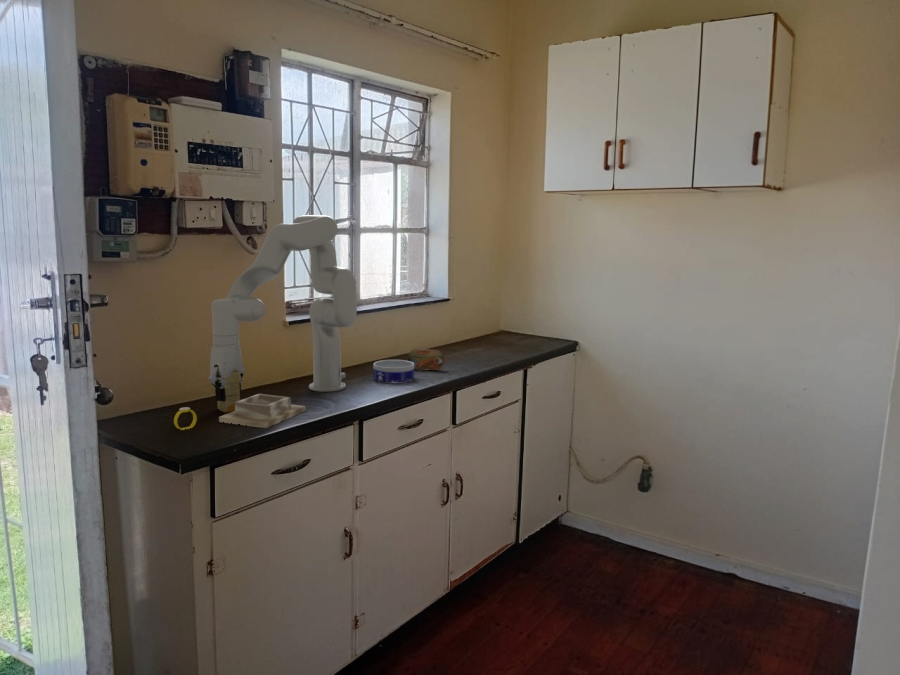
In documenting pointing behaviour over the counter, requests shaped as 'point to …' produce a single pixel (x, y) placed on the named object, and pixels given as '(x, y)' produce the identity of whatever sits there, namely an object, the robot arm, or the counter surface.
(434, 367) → the food package
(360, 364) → the counter surface
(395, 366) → the dog bowl
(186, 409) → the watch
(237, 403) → the socket board
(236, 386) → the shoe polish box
